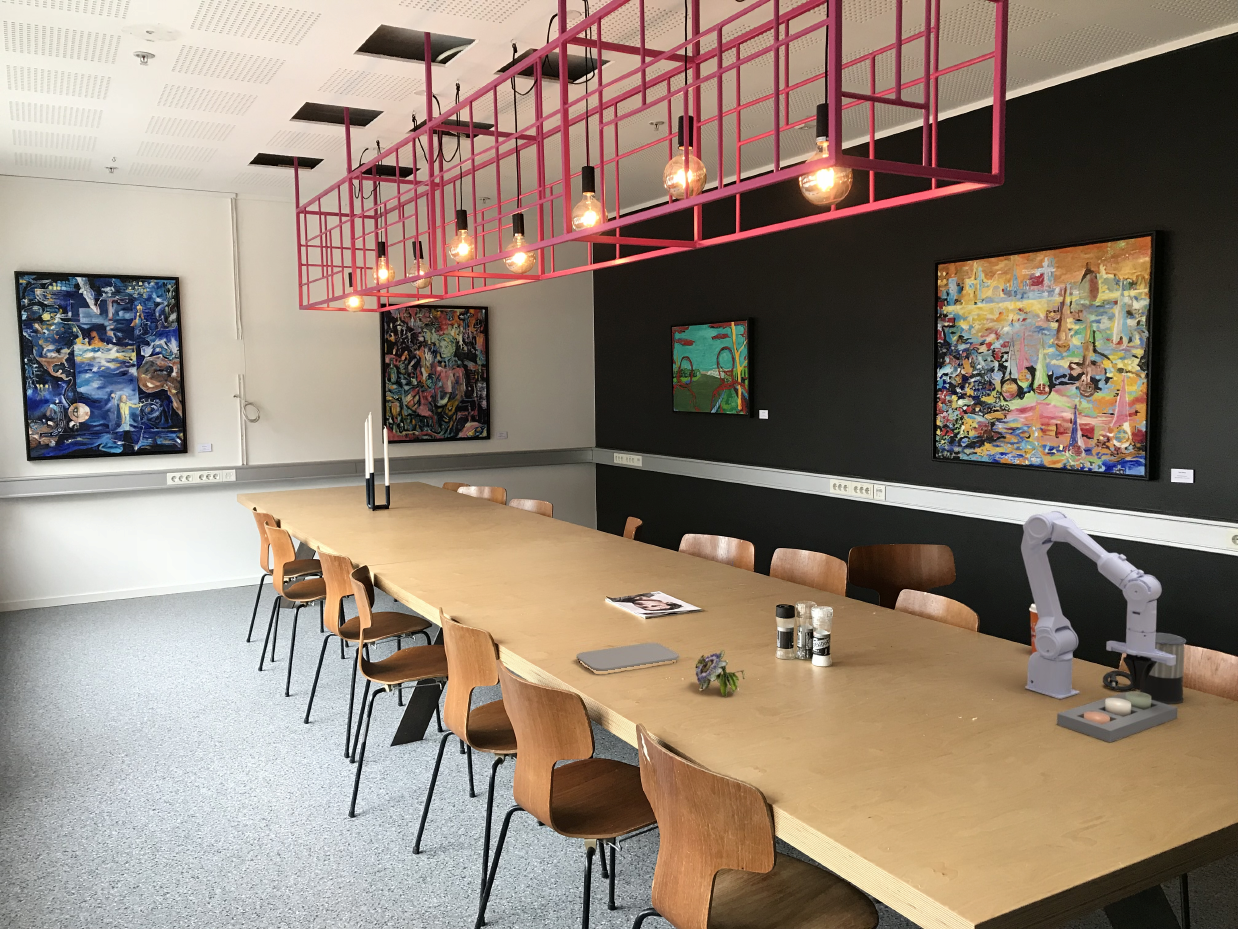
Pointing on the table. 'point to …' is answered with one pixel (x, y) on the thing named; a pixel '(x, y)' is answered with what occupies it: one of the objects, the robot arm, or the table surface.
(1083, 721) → the button board
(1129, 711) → the button cream
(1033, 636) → the paper cup
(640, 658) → the tablet
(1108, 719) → the button terracotta
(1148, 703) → the button sage
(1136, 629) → the robot arm
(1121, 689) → the milk frother
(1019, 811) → the table surface
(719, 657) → the passion flower
